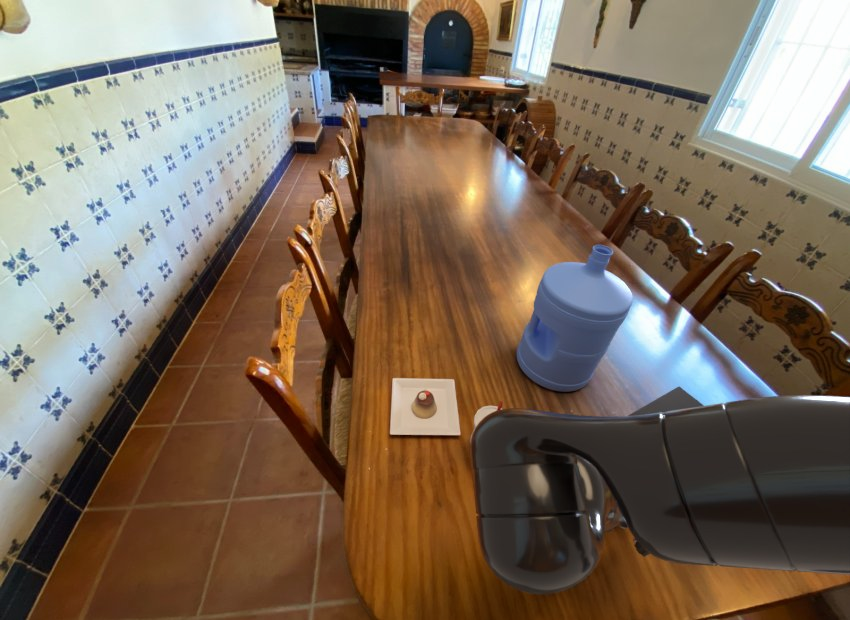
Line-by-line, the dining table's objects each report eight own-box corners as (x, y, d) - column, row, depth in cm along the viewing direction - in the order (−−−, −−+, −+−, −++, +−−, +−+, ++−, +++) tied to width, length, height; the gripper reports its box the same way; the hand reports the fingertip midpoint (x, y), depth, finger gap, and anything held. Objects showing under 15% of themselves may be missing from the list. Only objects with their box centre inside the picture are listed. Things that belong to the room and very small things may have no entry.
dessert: (453, 382, 70) (456, 366, 67) (459, 438, 61) (463, 422, 58) (392, 381, 70) (392, 365, 67) (389, 438, 60) (389, 422, 57)
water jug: (587, 348, 81) (645, 237, 63) (592, 403, 69) (665, 286, 51) (518, 331, 83) (554, 220, 65) (511, 381, 72) (553, 263, 54)
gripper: (683, 536, 30) (688, 521, 42) (562, 408, 40) (594, 425, 52) (616, 588, 32) (640, 559, 44) (514, 452, 41) (557, 459, 53)
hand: (615, 486), depth 48 cm, fingers open, 8 cm apart
